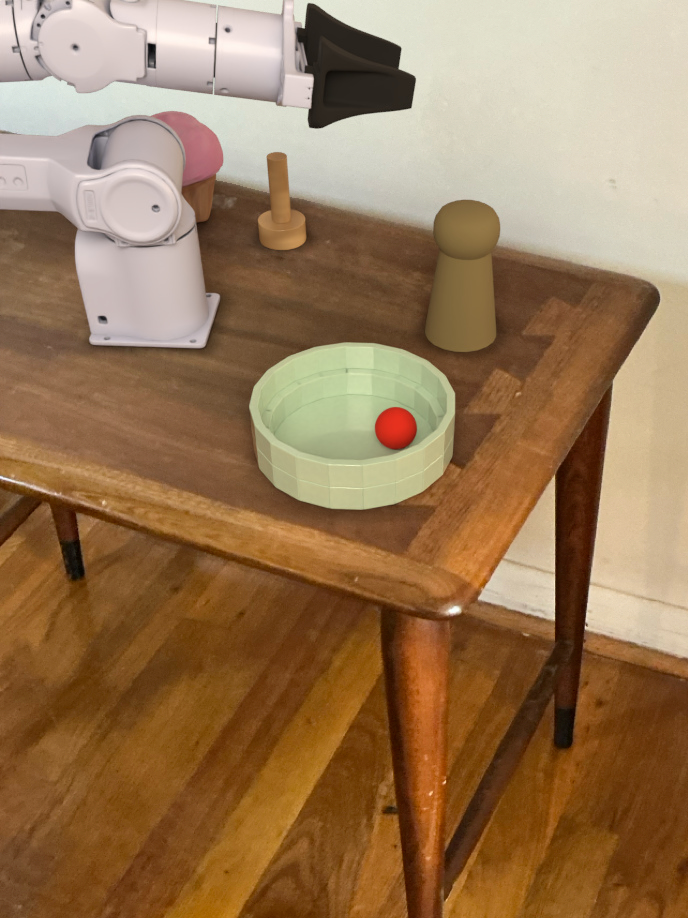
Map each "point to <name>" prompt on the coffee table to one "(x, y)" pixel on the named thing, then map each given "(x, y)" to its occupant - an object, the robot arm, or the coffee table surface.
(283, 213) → the wooden peg on base
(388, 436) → the red ball
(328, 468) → the bowl
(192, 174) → the cupcake
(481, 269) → the cork
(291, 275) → the coffee table surface
